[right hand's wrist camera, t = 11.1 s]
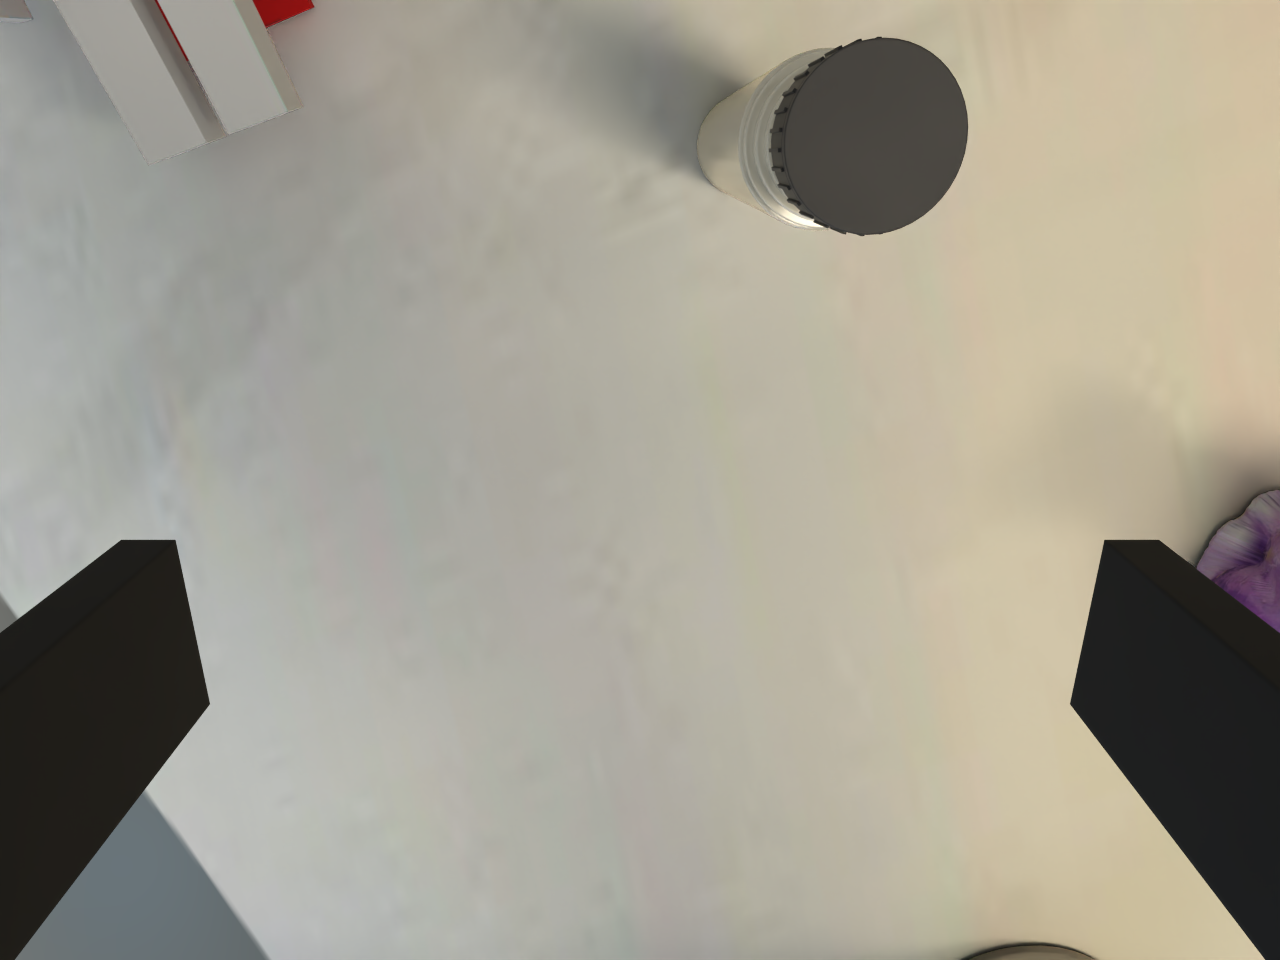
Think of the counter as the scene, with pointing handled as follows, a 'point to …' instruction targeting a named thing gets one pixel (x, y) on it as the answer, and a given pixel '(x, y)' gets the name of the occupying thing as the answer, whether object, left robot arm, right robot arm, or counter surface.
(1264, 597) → the figurine
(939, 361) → the counter surface
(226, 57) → the toy
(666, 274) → the counter surface
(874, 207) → the cap
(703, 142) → the bottle
